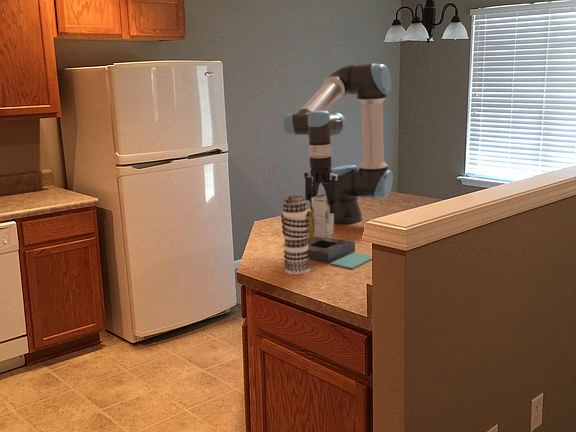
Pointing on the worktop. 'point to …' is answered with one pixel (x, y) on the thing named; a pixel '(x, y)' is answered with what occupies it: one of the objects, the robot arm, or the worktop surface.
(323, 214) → the syrup box
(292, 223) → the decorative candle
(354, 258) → the mat
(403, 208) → the worktop surface
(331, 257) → the grey square tray
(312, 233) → the plant pot
